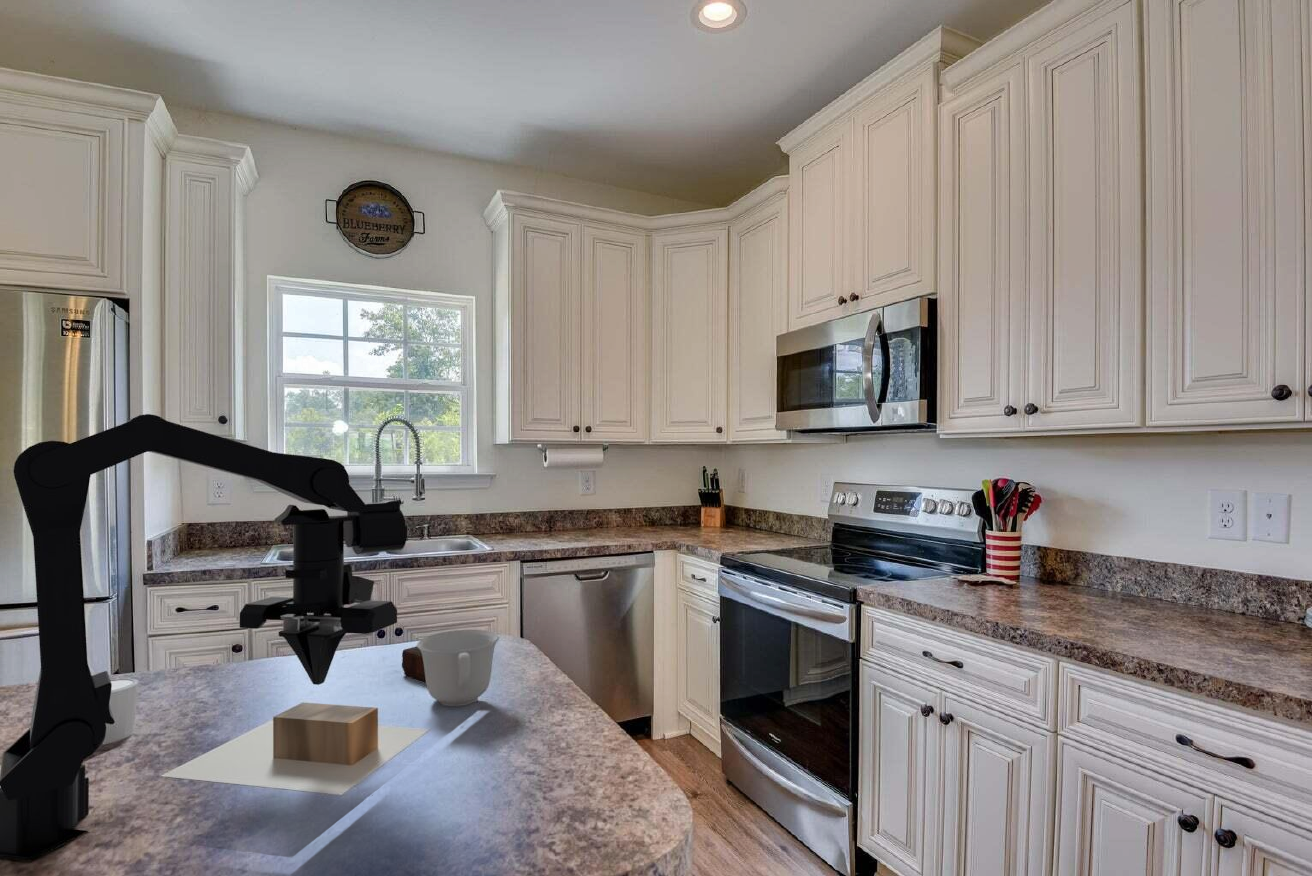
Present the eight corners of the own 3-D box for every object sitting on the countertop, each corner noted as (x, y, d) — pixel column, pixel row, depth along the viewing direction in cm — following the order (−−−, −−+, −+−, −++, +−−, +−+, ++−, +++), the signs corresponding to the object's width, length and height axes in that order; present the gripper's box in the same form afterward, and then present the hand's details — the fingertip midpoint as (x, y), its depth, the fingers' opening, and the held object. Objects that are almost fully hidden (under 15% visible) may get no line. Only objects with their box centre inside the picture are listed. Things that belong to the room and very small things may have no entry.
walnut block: (273, 758, 83) (352, 765, 81) (273, 717, 84) (352, 723, 81) (302, 741, 88) (377, 747, 86) (302, 702, 88) (377, 707, 86)
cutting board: (341, 804, 74) (341, 794, 74) (160, 784, 79) (160, 776, 79) (430, 736, 92) (430, 729, 92) (277, 724, 97) (277, 717, 97)
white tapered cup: (102, 749, 89) (103, 695, 89) (60, 746, 90) (61, 692, 91) (151, 729, 96) (151, 678, 96) (111, 725, 97) (111, 676, 97)
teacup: (420, 734, 92) (419, 660, 93) (415, 698, 106) (414, 634, 106) (509, 720, 97) (508, 650, 97) (493, 688, 111) (493, 626, 111)
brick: (401, 676, 118) (401, 649, 118) (421, 670, 121) (421, 644, 121) (436, 689, 111) (436, 660, 111) (457, 682, 114) (457, 654, 114)
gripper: (421, 550, 91) (421, 667, 91) (300, 548, 95) (300, 660, 95) (369, 564, 81) (369, 697, 80) (236, 560, 84) (235, 687, 84)
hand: (318, 683), depth 85 cm, fingers closed
